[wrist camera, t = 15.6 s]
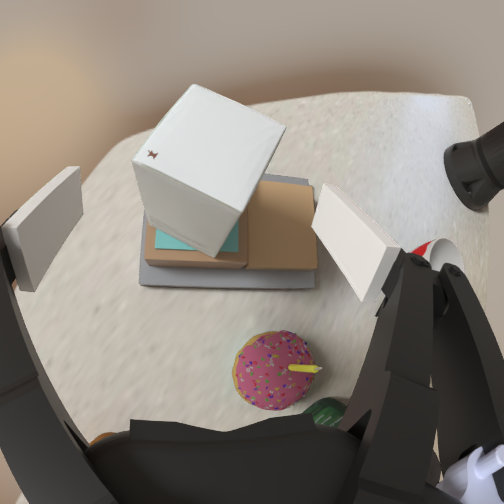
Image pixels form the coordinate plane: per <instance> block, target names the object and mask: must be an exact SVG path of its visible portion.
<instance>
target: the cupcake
mask: <svg viewBox="0 0 504 504" xmlns="http://www.w3.org/2000/svg"><path fill="white" fill-rule="evenodd" d="M305 343H306V342H304V341H303V340H302V339H301V338H300V337H298V336H297V335H296V333H292V332H289V331H284V330H283V331H280V332H275V331H271V332H266V333H262V334H259V335H256V336H254V337H252V338H251V339H250V340H249V341H248V342H247V343H246V344H245V345H244V346H243V348H242V349H241V350H240V351H239V352H238V353H237V355H236V358H235V362H234V366H233V370H232V377H233V380H234V384H235V387H236V390H237V392H238V393H239V395H240V396H241V397H242V398H243V399H244V400H245V401H247V402H248V403H250V404H252V405H254V406H257V407H259V408H262V409H266V410H275V411H277V410H283V409H285V408H289V406H291V405H295V403H296V402H297V401H299V400H300V399H301V398H302V397H303V398H304V397H305V394H306V392H307V391H308V390H309V387H310V385H311V383H312V380H313V379H314V375H315V374H314V373H317V372H318V370H321V369H323V367H318V366H317V365H315V363H314V359H313V357H312V353H311V351H310V350H309V348H308V347H307V343H306V344H305Z"/></svg>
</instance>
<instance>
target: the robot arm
mask: <svg viewBox="0 0 504 504" xmlns="http://www.w3.org/2000/svg"><path fill="white" fill-rule="evenodd" d="M444 164H445V169H446V173H447V176H448V178H449V181H450V183H451V185H452V187H453V189H454V191H455V192H456V194H457V196H458V197H459V198H460V200H461V201H462V202H463V203H464V204H465V205H466V206H467V207H468V208H470V209H472V210H478V209H480V208H483V207H484V206H486V205H487V204H488V203H489V202H490V201H491V200H492V199H493V198H494V196H495V195H496V194H497V193H498V192H499V191H500V190H502V189H504V122H503V123H501V124H500V125H498V126H496V127H495V128H493V129H492V130H490V131H489V132H487V133H486V134H484V135H482V136H481V137H479V138H477V139H476V140H472V141H466V142H461V143H455V144H453V145H452V146H450V147H449V148H447V149H446V150H445V153H444ZM82 215H83V204H82V192H81V176H80V166H73V167H67V168H65V169H64V170H63V171H62V172H60V173H59V174H58V175H57V176H56V177H54V178H53V179H52V180H51V181H50V182H48V183H47V184H46V185H45V186H44V187H43V188H42V189H40V190H39V191H38V192H37V193H36V194H35V195H34V196H33V197H32V198H31V199H29V200H28V201H27V202H26V203H25V204H24V205H23V206H22V207H21V208H19V209H18V210H16V211H15V212H14V213H13V214H12V215H11V216H10V218H8V219H7V220H6V221H5V222H4V223H3V224H2V225H1V226H0V448H1V450H2V452H3V455H4V457H5V459H6V461H7V463H8V465H9V467H10V470H11V471H12V474H13V476H14V477H15V479H16V481H17V483H18V485H19V486H20V489H21V490H22V492H23V494H24V496H25V497H26V499H27V501H28V502H29V504H504V359H503V356H502V354H501V351H500V349H499V346H498V343H497V341H496V338H495V336H494V333H493V331H492V329H491V327H490V324H489V322H488V320H487V317H486V315H485V313H484V311H483V309H482V307H481V305H480V303H479V300H478V298H477V296H476V294H475V292H474V291H473V289H472V287H471V285H470V283H469V281H468V279H467V277H466V275H465V274H464V273H463V271H461V269H460V268H459V267H457V266H456V265H452V264H450V263H444V264H443V266H442V268H441V270H440V272H439V271H436V270H432V267H431V264H430V263H429V262H428V261H427V260H426V259H425V258H424V257H422V256H421V255H418V254H415V253H406V252H405V251H404V250H403V249H402V248H401V247H400V246H399V245H398V244H397V243H396V242H395V241H394V240H393V239H392V238H391V237H390V236H389V235H388V234H387V233H386V232H385V231H384V230H383V229H382V228H381V227H380V226H379V225H378V224H377V223H376V222H375V221H374V220H373V219H372V218H371V217H370V216H369V215H367V214H366V213H365V212H364V211H363V210H362V209H361V208H360V207H359V206H358V205H357V204H356V203H355V202H354V201H352V200H351V199H350V198H349V197H348V196H347V195H346V194H345V193H344V192H342V191H341V190H340V189H339V188H338V187H337V186H336V185H332V184H325V183H323V186H322V190H321V193H320V197H319V201H318V204H317V208H316V212H315V215H314V219H313V222H312V226H311V227H312V228H313V230H314V231H315V233H316V234H317V235H318V237H319V238H320V240H321V241H322V243H323V244H324V246H325V247H326V249H327V250H328V252H329V253H330V254H331V256H332V257H333V259H334V260H335V262H336V263H337V265H338V266H339V268H340V269H341V271H342V272H343V274H344V276H345V277H346V279H347V280H348V282H349V283H350V285H351V286H352V288H353V289H354V291H355V293H356V294H357V296H358V297H359V299H360V300H361V302H376V300H377V298H378V296H379V294H380V292H381V290H382V291H383V293H384V294H385V298H384V300H383V302H382V304H381V306H380V308H379V309H378V311H377V313H376V315H375V316H376V317H378V319H377V323H376V326H375V329H374V333H373V336H372V339H371V342H370V346H369V349H368V352H367V355H366V358H365V361H364V364H363V366H362V369H361V372H360V375H359V378H358V380H357V383H356V386H355V388H354V391H353V394H352V396H351V399H350V401H349V404H348V406H347V409H346V411H345V413H344V416H343V418H342V420H341V422H340V424H339V426H338V427H337V428H335V427H332V426H328V425H323V424H318V423H315V422H314V419H313V416H312V413H304V414H298V415H290V416H283V417H274V418H269V419H266V420H263V421H260V422H257V423H254V424H251V425H248V426H245V427H242V428H239V429H235V430H232V431H228V432H221V431H215V430H210V429H205V428H200V427H196V426H191V425H187V424H183V423H178V422H166V421H147V420H134V419H130V430H129V431H123V432H119V433H115V434H112V435H110V436H107V437H104V438H102V439H101V440H99V441H97V442H95V443H94V444H92V445H91V446H90V445H89V443H88V442H87V441H86V439H85V438H84V437H83V435H82V434H81V433H80V431H79V430H78V428H77V427H76V425H75V424H74V422H73V421H72V419H71V417H70V416H69V414H68V412H67V411H66V409H65V407H64V406H63V404H62V402H61V400H60V399H59V397H58V395H57V393H56V391H55V389H54V387H53V386H52V384H51V382H50V380H49V378H48V376H47V374H46V372H45V370H44V368H43V365H42V363H41V361H40V359H39V357H38V355H37V352H36V350H35V348H34V345H33V343H32V341H31V338H30V336H29V333H28V331H27V328H26V325H25V323H24V320H23V317H22V314H21V312H20V309H19V306H18V303H17V300H16V296H15V293H14V290H13V288H12V283H13V281H14V280H15V278H16V281H17V284H18V286H19V289H20V291H28V292H35V291H36V289H37V287H38V285H39V283H40V282H41V280H42V278H43V276H44V275H45V273H46V271H47V269H48V268H49V266H50V264H51V263H52V261H53V259H54V258H55V256H56V255H57V253H58V251H59V250H60V248H61V247H62V245H63V243H64V242H65V240H66V239H67V237H68V236H69V234H70V233H71V231H72V230H73V228H74V227H75V225H76V224H77V222H78V221H79V220H80V218H81V217H82ZM446 311H447V312H446ZM430 374H431V379H432V386H433V388H430V387H429V384H430ZM436 427H437V434H438V449H439V458H440V465H441V471H442V475H443V481H441V482H439V483H438V484H437V485H436V487H435V486H433V485H431V484H429V483H428V482H426V478H427V474H428V470H429V466H430V461H431V456H432V451H433V445H434V440H435V433H436Z"/></svg>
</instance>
